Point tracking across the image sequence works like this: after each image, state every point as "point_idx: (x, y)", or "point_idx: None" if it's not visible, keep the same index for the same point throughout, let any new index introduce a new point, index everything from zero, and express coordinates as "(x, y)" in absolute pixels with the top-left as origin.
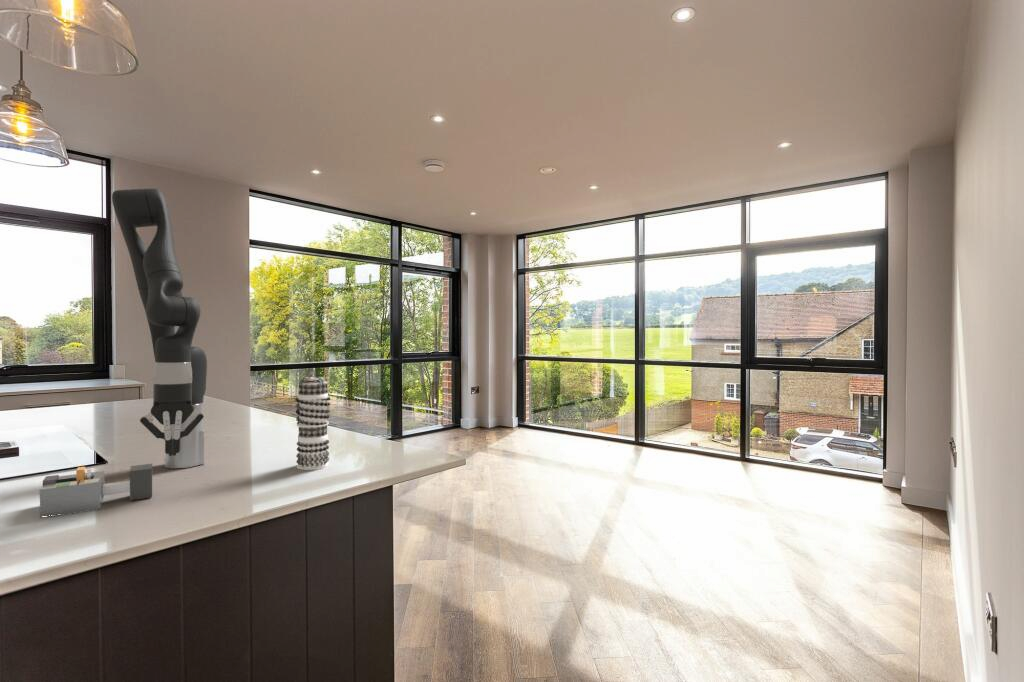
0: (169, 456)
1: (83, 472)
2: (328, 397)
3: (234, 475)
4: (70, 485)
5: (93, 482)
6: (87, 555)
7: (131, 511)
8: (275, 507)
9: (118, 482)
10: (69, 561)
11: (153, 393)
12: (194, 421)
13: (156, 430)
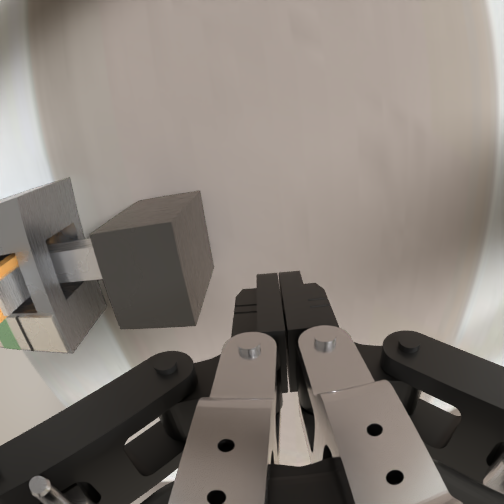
0: None
1: (4, 318)
2: None
3: (457, 92)
4: (23, 348)
5: (59, 351)
6: None
7: (189, 355)
8: (452, 409)
9: (91, 252)
10: None
11: None
12: (481, 475)
13: (165, 470)
